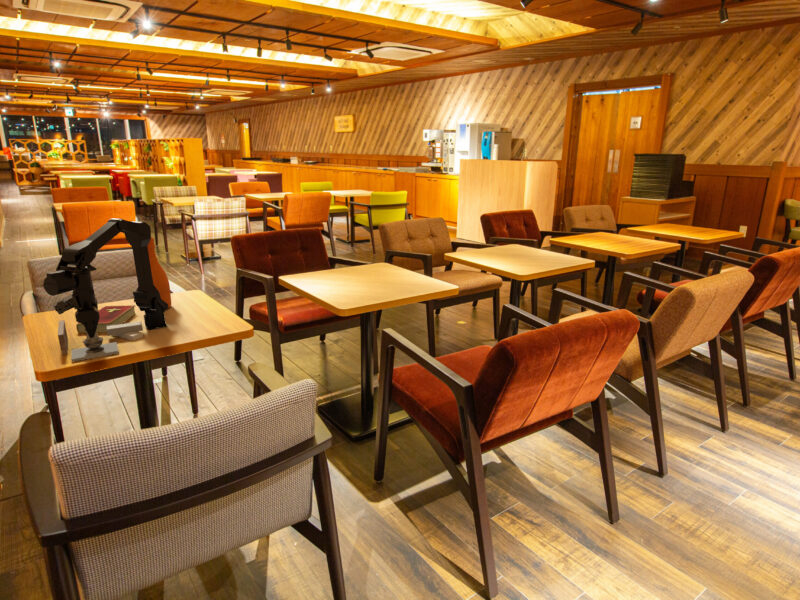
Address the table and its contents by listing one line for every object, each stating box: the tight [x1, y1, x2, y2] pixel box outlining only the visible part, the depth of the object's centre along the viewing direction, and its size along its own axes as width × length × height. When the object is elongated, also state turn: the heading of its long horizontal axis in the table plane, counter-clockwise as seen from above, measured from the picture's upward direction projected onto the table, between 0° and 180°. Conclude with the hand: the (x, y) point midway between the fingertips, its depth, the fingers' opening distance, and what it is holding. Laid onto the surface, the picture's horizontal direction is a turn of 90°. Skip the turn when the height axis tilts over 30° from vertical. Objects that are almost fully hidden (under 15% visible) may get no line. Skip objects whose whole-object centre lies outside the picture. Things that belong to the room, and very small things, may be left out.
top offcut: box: [106, 320, 144, 337], centre depth 177 cm, size 4×11×2 cm, turn 119°
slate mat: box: [70, 341, 120, 363], centre depth 163 cm, size 13×9×1 cm
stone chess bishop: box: [82, 328, 104, 353], centre depth 161 cm, size 6×6×12 cm
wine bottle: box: [148, 236, 172, 309], centre depth 204 cm, size 10×10×30 cm
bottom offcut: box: [113, 331, 144, 341], centre depth 178 cm, size 4×12×2 cm, turn 63°
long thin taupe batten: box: [57, 319, 69, 356], centre depth 167 cm, size 2×16×7 cm, turn 32°
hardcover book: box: [76, 304, 136, 333], centre depth 190 cm, size 12×21×4 cm, turn 4°
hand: (91, 333), depth 161 cm, fingers open, 9 cm apart
